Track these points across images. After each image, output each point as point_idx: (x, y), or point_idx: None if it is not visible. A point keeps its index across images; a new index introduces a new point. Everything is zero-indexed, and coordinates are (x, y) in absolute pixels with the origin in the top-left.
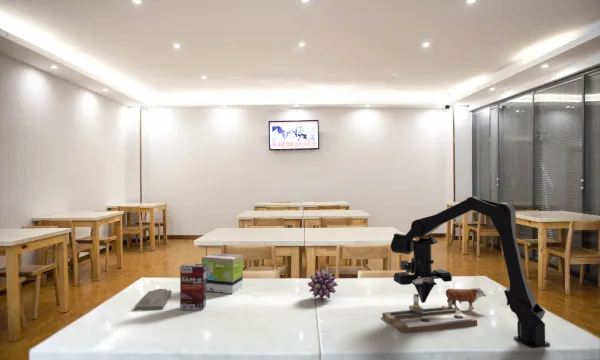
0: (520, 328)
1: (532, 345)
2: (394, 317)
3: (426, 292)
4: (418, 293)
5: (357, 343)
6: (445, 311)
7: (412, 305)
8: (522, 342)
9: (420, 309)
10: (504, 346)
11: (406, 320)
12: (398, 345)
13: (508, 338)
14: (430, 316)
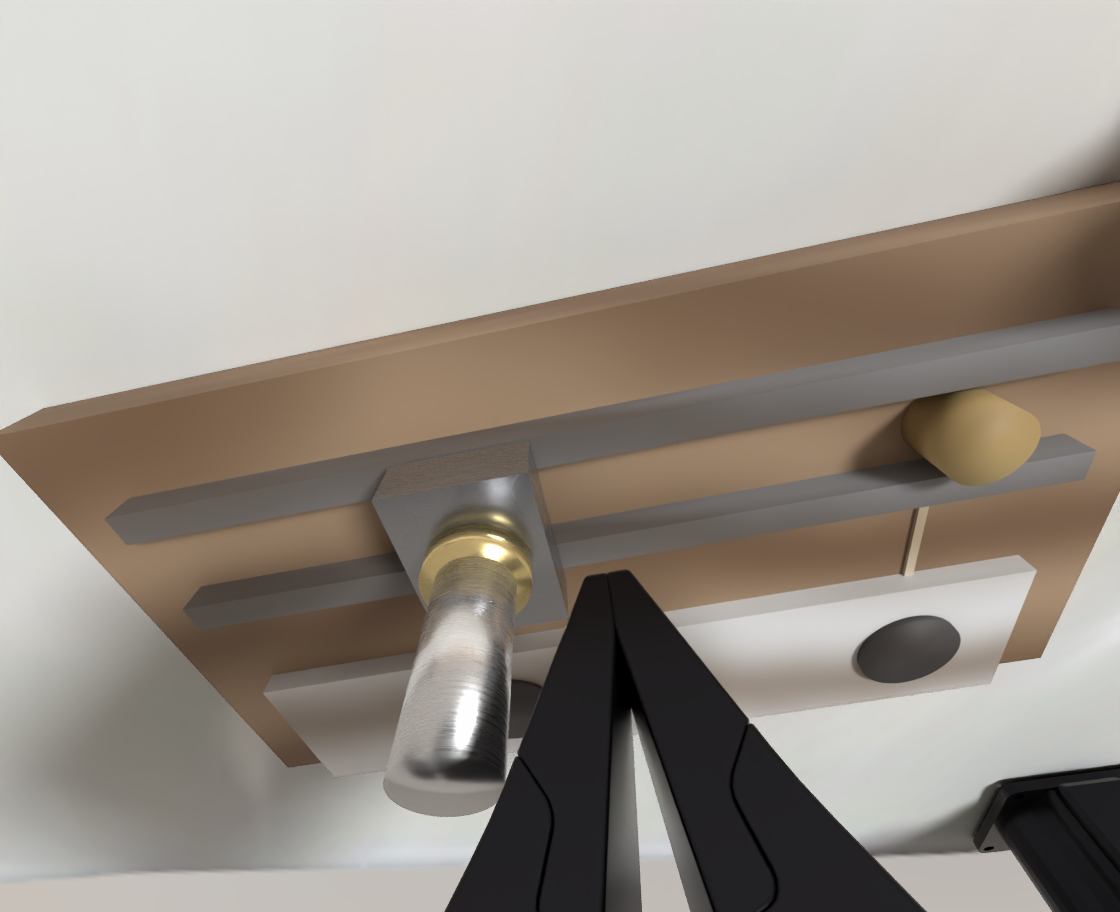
0: (1071, 897)
1: (990, 850)
2: (195, 590)
3: (688, 899)
4: (531, 746)
5: (8, 820)
6: (902, 504)
7: (434, 501)
8: (987, 821)
9: (522, 620)
10: (857, 829)
11: (324, 706)
12: (274, 830)
13: (979, 774)
14: (637, 572)
